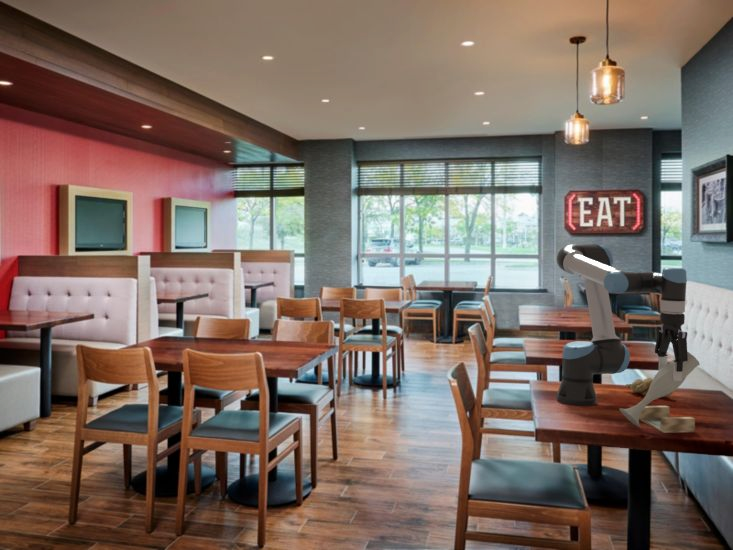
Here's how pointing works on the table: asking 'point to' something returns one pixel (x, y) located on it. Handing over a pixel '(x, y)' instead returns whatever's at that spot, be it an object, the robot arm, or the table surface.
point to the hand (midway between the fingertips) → (669, 377)
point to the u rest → (666, 420)
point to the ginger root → (642, 386)
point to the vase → (660, 387)
